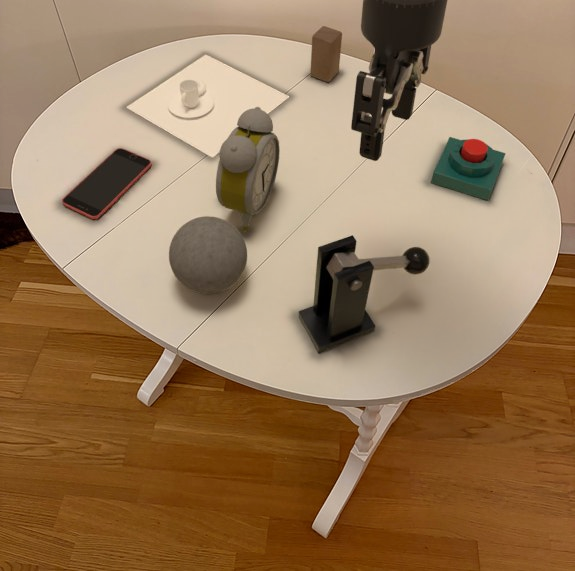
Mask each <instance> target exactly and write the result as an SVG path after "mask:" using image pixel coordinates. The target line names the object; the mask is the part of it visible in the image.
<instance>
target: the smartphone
mask: <svg viewBox="0 0 575 571" xmlns="http://www.w3.org/2000/svg"><path fill="white" fill-rule="evenodd" d="M152 163H153V162H152V161H151V160H150V159H149V158H146V157H144V156H142V155H139V154H137V153H136V152H132V151H130V150H128V149H126V148H122V147H119V148H116V149H114V151H113V152H112V153H110V154H109V155H108V156H107V157H106V158H105V159H104V160H103V161H101V163H100V164H98V165H97V166H96V167H95V168H94V169H93V170H92V171H91V172H90V173H89V174H88V175H86V176H85V178H83V179H82V180H81V181H80V182H79V183H78V184H77V185H75V187H73V188H72V189H71V190H70V191H69V192H68V193H67V194H66V195H65V196H64V197H62V199H61V204H62V205H64V206H65V207H66V208H68V209H71V210H73V211H74V212H76V213H79V214H81V215H83V216H85V217H87V218H90V219H92V220H97V219H99V218H100V217H101V216H102V215H103V214H104V213H106V212H107V210H109V208H111V207H112V206H113V205H114V203H115V202H116V201H117V200H118V199H120V197H122V195H123V194H124V193H125V192H127V190H128V189H129V188H131V186H132V185H133V184H134V183H136V181H137V180H139V178H141V176H143V175H144V173H145V172H147V171H148V170H149V169H150V167H151V166H152Z"/></svg>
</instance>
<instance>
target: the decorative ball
mask: <svg viewBox="0 0 575 571" xmlns="http://www.w3.org/2000/svg"><path fill="white" fill-rule="evenodd" d="M168 261H169V265H170V268H171V271H172V273H173V275H174V276H175V278H176V279H177V281H178V282H179V283H180V284H181V285H182V286H184V287H185V288H187V289H188V290H190V291H192V292H195V293H198V294H203V295H214V294H218V293H222V292H224V291H226V290H228V289H230V288H231V287H233V286H234V285H235V284H236V283H237V282H238V281H239V280H240V279H241V277H242V276H243V274H244V272H245V269H246V267H247V262H248V249H247V244H246V242H245V239H244V237H243V235H242V234H241V232H240V231H239V230H238V228H236V227H235V226H234V224H232V223H231V222H229V221H227V220H225V219H223V218H220V217H216V216H210V215H209V216H207V215H205V216H199V217H196V218H193V219H190V220H189V221H187V222H185V223H184V224H182V225H181V227H179V229H178V230H176V232H175V233H174V235H173V237H172V239H171V241H170V244H169V248H168Z"/></svg>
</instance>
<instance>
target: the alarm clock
mask: <svg viewBox="0 0 575 571" xmlns="http://www.w3.org/2000/svg"><path fill="white" fill-rule="evenodd" d="M237 125H238V126H239V127H236V128H235V129H234V130H233V131H232V132H231V134H230V135H229V137H228V139H226V140H225V141H224V143H223V144H222V146H221V149H220V152H219V159H218V163H217V170H216V177H215V194H216V199H217V200H218V203H219V204H220V205H221V206H222V207H224V208H225V209H228V210H233V211H236V212H239V213H240V218H241V226H242V227H241V228H242V232H244V233H245V232H246V233H247V232H248V230H249V227H250V226H249V225H250V222H251V219H252V215H254V216H255V215H257V214H259V213H260V212H262V211H263V210H264V209H265V206H266V205H267V203H268V201H269V198H270V197H271V195H272V191H273V188H274V186H275V182H276V180H277V175H278V174H277V173H278V169H279V161H280V154H281V153H280V151H281V150H280V149H281V148H280V140H279V138H278V136H277V135H276V133H274V132H273V130H274V123H273V120H272V118H271V116H270V114H267V113H266V112H265V111H263V110H261V108H260V107H256V108H254V109H249V110H246V111H245V112H243V113H242V114H241V116H240V117H239V119H238V122H237Z"/></svg>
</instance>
